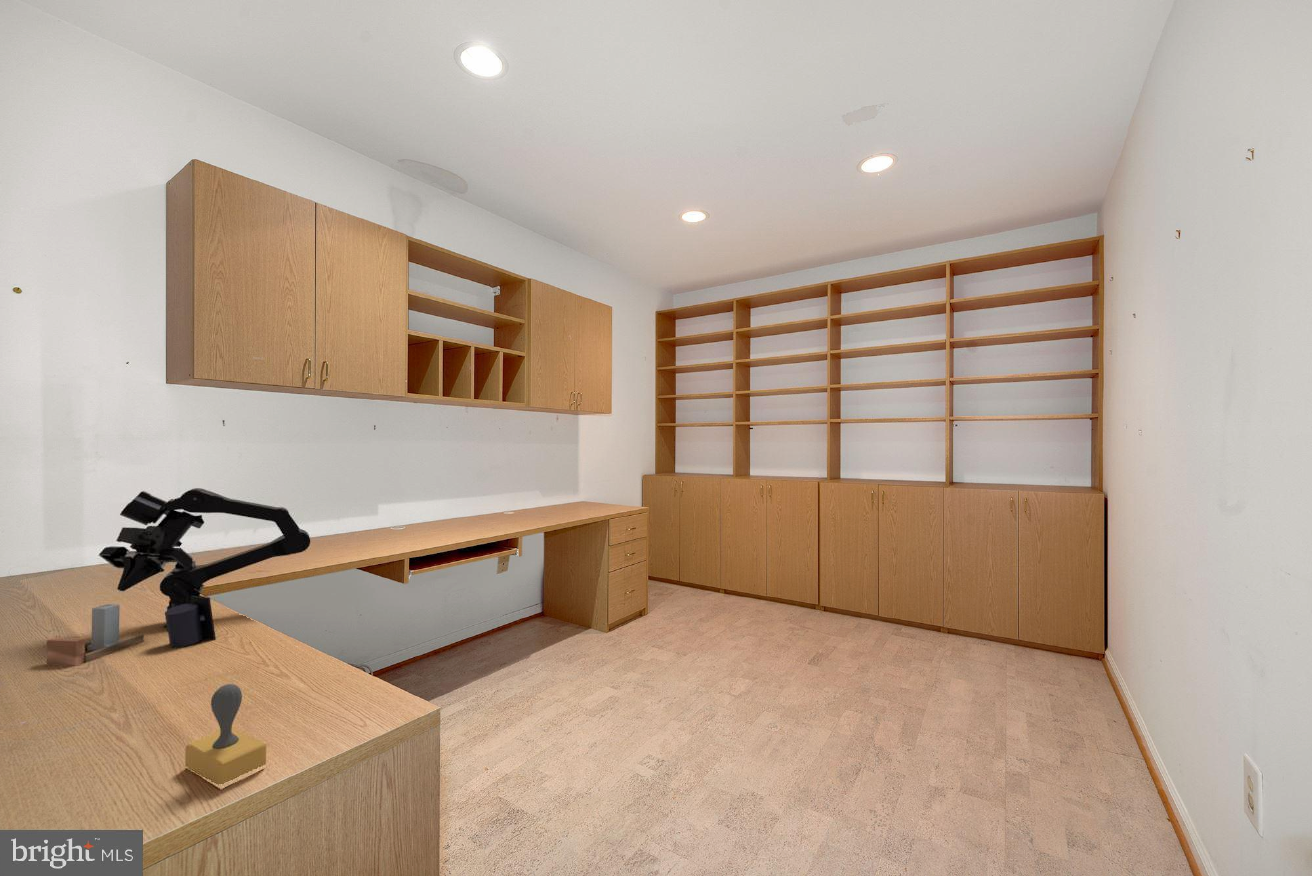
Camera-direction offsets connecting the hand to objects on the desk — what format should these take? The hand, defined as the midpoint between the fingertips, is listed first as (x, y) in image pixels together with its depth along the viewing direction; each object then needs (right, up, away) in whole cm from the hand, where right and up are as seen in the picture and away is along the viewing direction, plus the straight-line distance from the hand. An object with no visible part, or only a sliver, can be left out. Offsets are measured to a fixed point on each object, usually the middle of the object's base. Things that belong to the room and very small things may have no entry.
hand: (120, 590), depth 120 cm
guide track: (0, -12, -5) cm, 13 cm away
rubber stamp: (+60, -13, -44) cm, 76 cm away
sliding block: (0, -12, -3) cm, 13 cm away
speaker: (+15, -13, +1) cm, 19 cm away
